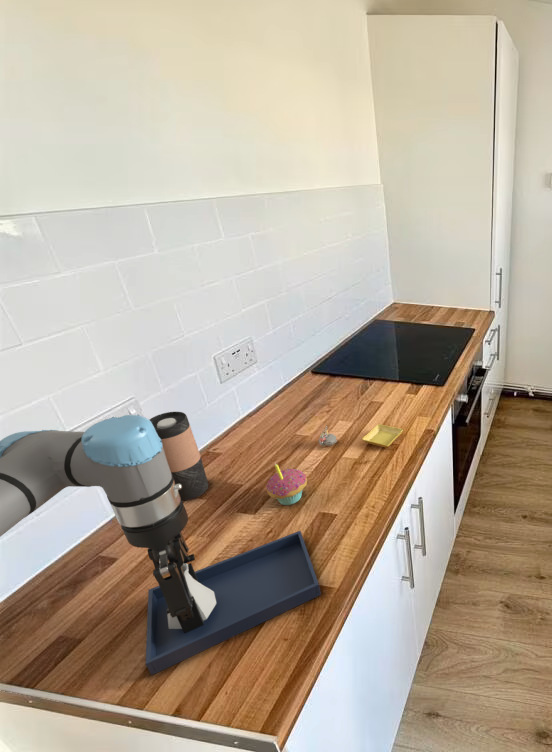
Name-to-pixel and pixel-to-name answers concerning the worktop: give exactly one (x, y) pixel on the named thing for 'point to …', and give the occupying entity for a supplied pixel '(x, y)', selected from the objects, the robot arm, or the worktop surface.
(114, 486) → the robot arm
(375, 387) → the worktop surface
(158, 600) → the tray
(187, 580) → the flask
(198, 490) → the travel mug
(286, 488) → the cupcake
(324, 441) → the figurine
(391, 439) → the saucer
